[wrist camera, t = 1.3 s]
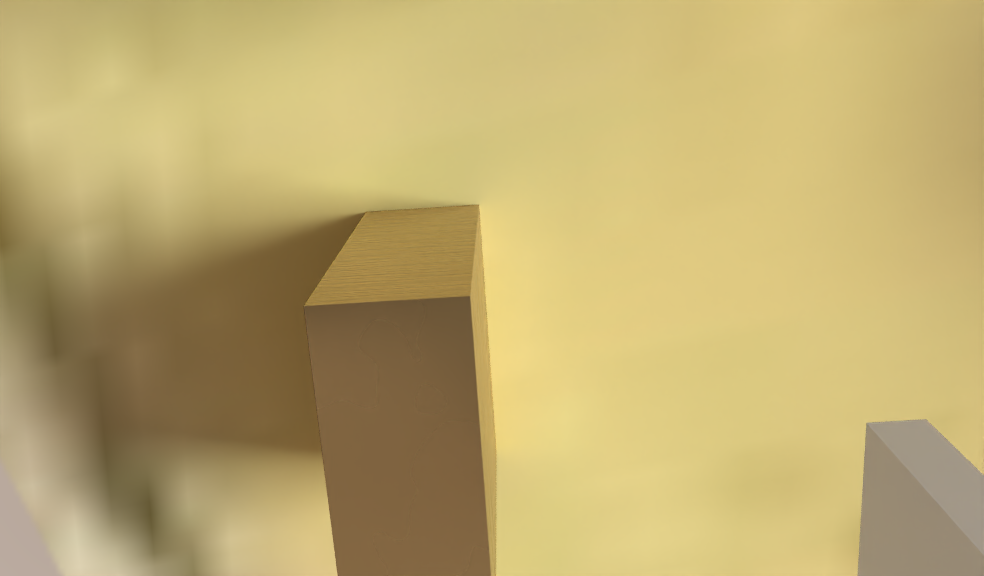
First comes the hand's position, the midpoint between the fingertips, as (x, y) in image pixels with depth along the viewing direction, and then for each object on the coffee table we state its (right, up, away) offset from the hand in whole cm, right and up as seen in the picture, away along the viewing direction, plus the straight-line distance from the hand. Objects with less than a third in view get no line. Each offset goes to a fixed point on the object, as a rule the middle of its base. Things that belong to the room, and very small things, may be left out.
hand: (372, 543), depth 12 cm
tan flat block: (0, +2, +9) cm, 9 cm away
